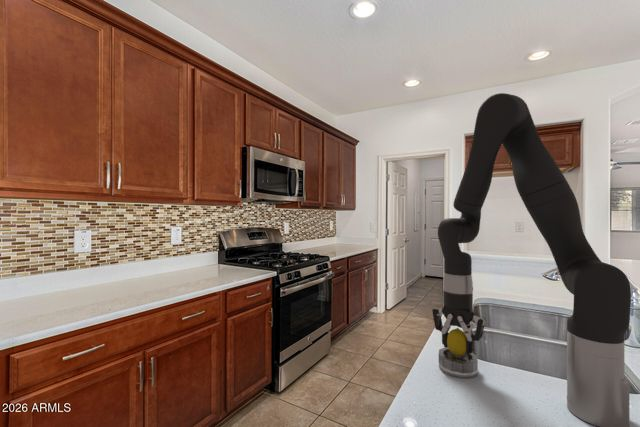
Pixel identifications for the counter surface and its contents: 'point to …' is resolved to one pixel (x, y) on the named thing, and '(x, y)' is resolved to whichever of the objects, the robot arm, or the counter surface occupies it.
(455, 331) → the lemon
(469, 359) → the holder
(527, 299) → the counter surface
